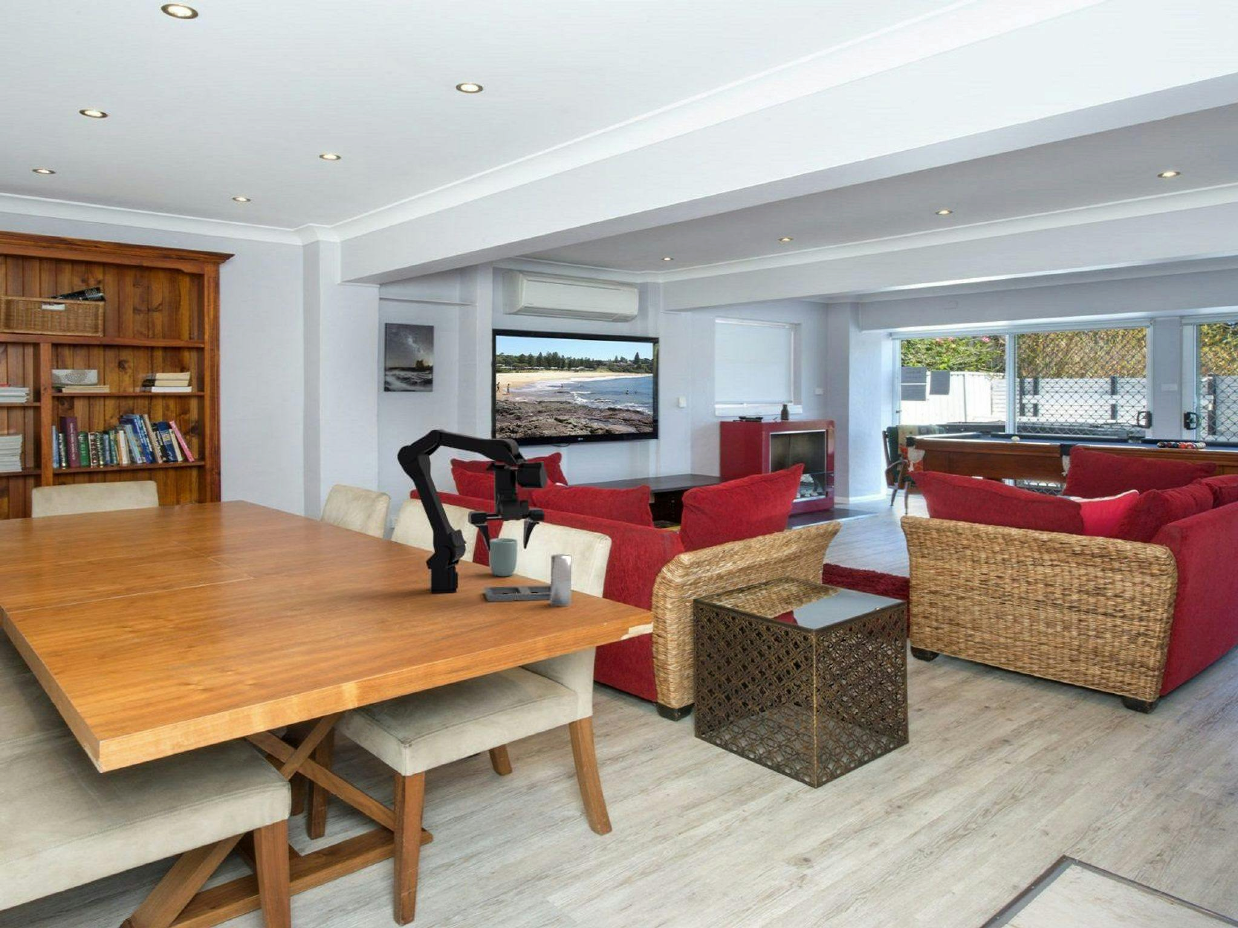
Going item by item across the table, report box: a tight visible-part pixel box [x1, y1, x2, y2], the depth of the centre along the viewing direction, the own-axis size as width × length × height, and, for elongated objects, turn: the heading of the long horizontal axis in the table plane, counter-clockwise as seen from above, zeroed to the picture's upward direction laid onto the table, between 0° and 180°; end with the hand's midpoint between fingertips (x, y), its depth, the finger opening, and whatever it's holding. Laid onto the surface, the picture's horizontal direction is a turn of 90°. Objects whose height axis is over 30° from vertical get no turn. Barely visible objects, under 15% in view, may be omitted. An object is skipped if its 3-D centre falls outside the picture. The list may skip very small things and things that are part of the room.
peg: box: [550, 553, 573, 607], centre depth 219 cm, size 5×5×12 cm
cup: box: [488, 537, 518, 577], centre depth 254 cm, size 8×8×10 cm
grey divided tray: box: [483, 584, 551, 603], centre depth 228 cm, size 20×10×2 cm, turn 105°
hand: (507, 549), depth 227 cm, fingers open, 9 cm apart
